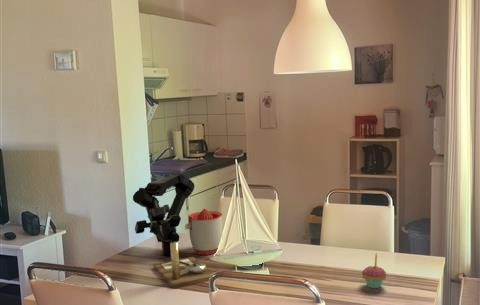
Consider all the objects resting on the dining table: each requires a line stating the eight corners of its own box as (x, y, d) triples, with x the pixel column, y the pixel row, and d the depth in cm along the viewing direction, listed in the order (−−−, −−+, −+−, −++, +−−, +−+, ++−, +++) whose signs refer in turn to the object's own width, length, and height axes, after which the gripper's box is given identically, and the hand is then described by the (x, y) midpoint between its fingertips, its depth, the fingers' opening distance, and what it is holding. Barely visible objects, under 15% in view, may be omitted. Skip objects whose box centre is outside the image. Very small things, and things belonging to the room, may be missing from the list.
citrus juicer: (183, 248, 228) (180, 207, 226) (219, 243, 233) (216, 203, 231) (190, 259, 213) (187, 215, 211) (228, 253, 218) (225, 210, 216)
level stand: (154, 267, 205) (153, 264, 205) (192, 259, 212) (192, 256, 212) (173, 288, 182) (173, 284, 181) (216, 278, 189) (216, 274, 189)
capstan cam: (151, 270, 197) (148, 237, 195) (179, 260, 207) (177, 228, 206) (180, 281, 184) (178, 245, 182) (209, 269, 194) (207, 235, 193)
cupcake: (368, 279, 181) (367, 248, 179) (390, 284, 175) (390, 252, 174) (358, 287, 174) (357, 255, 173) (380, 293, 169) (380, 259, 167)
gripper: (134, 202, 196) (144, 235, 188) (178, 195, 205) (189, 226, 196) (130, 217, 204) (140, 249, 196) (172, 210, 213) (183, 240, 204)
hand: (163, 241), depth 198 cm, fingers closed
